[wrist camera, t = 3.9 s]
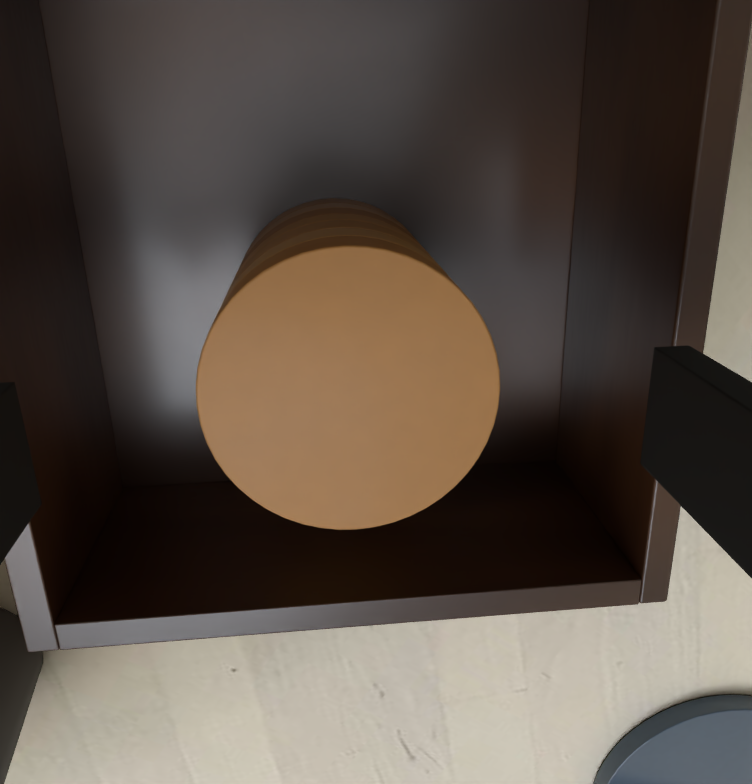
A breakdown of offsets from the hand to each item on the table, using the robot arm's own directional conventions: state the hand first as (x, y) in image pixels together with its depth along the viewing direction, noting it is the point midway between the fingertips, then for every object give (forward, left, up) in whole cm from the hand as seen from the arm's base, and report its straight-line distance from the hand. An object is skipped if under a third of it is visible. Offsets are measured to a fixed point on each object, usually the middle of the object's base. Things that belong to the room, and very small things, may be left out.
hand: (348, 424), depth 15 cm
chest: (0, -2, -12) cm, 12 cm away
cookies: (0, 0, -11) cm, 11 cm away
